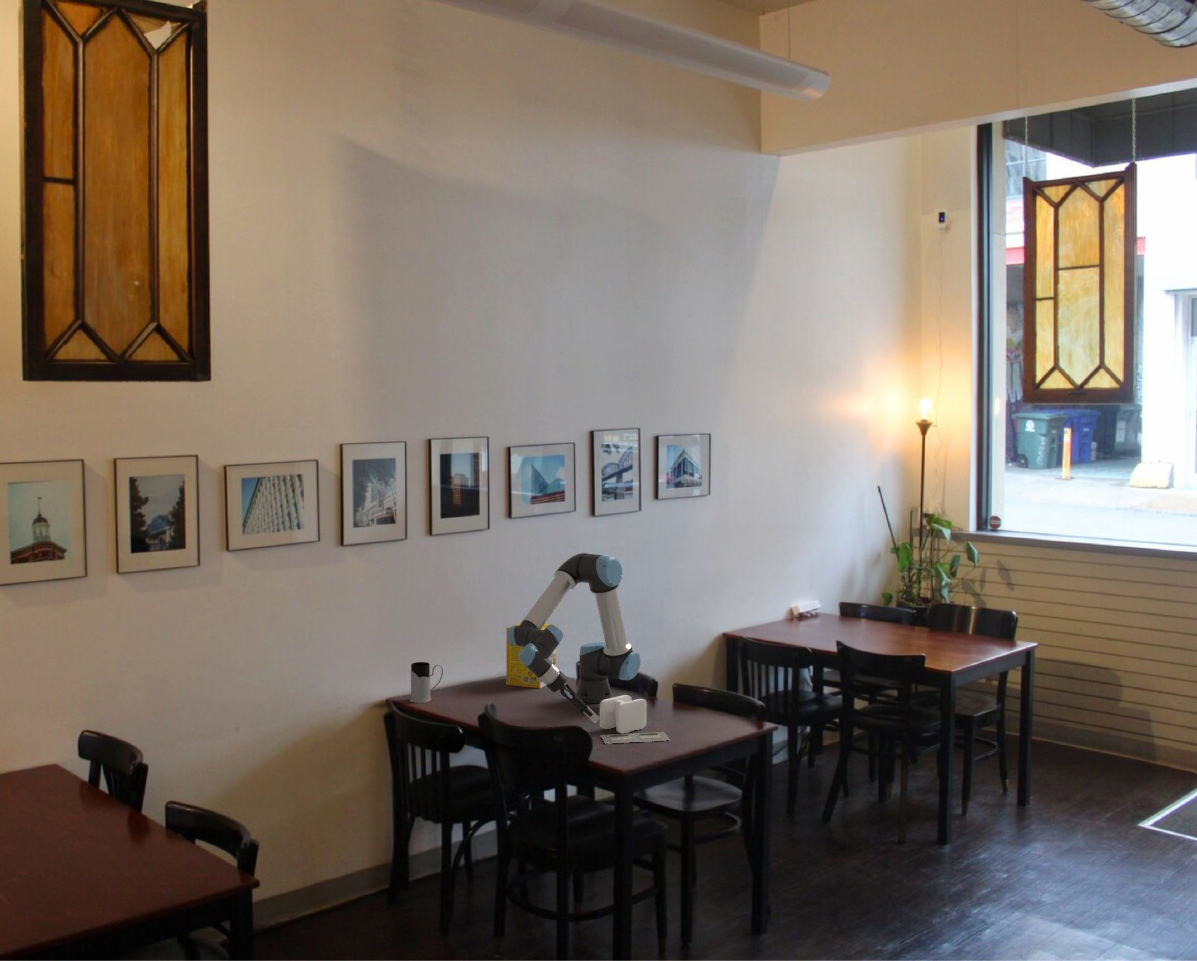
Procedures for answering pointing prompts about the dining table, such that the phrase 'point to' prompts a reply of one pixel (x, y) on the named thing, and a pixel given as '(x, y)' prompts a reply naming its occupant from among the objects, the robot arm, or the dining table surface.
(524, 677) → the packaging box
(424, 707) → the dining table surface
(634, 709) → the cable organizer
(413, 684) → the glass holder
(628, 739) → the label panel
